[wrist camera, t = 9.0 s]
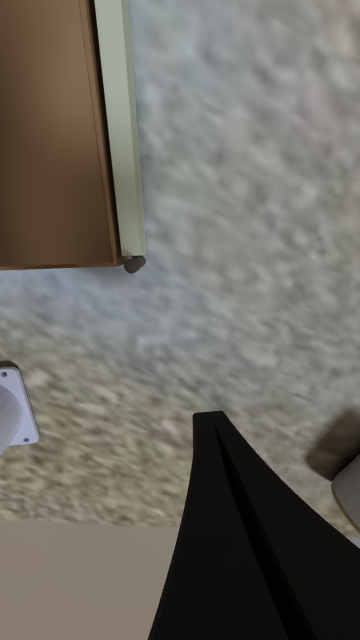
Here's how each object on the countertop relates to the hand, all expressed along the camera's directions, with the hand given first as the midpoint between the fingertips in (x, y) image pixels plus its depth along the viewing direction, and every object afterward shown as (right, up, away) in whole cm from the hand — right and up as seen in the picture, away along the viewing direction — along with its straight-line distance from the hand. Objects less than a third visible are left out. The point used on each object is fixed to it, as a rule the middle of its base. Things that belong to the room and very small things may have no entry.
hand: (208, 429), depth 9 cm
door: (-4, +16, +4) cm, 17 cm away
